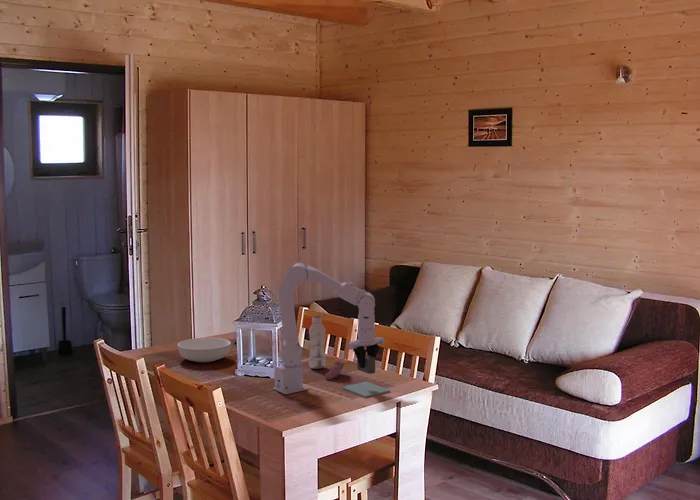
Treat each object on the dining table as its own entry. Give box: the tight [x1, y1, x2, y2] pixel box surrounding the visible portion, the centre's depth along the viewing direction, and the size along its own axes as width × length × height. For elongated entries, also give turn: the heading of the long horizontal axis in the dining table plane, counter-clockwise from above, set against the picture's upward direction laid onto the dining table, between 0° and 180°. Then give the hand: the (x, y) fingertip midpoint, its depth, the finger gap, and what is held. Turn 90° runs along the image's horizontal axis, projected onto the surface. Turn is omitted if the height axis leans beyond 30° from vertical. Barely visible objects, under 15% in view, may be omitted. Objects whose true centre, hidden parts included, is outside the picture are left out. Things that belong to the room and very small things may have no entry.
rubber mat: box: [341, 381, 391, 398], centre depth 268 cm, size 11×13×1 cm
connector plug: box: [352, 354, 376, 375], centre depth 268 cm, size 3×11×5 cm, turn 37°
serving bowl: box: [177, 337, 232, 364], centre depth 308 cm, size 21×21×7 cm
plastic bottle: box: [308, 315, 327, 370], centre depth 295 cm, size 6×7×20 cm
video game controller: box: [324, 360, 345, 380], centre depth 285 cm, size 10×5×7 cm, turn 169°
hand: (366, 366), depth 267 cm, fingers closed on connector plug, 3 cm apart
